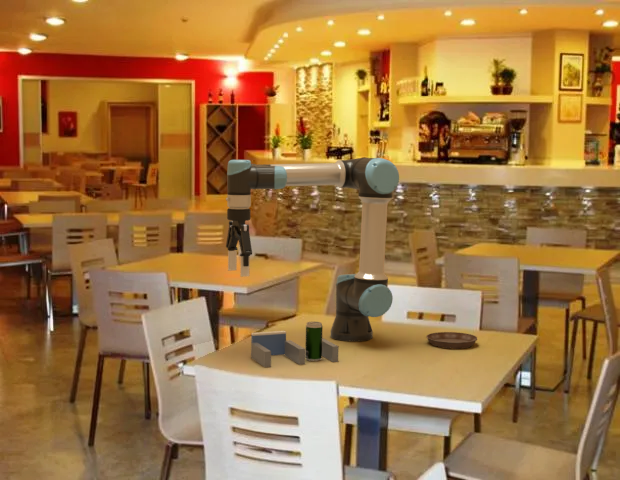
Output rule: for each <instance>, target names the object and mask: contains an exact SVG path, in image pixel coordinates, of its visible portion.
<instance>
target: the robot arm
mask: <svg viewBox="0 0 620 480" xmlns="http://www.w3.org/2000/svg"><path fill="white" fill-rule="evenodd" d="M226 176H227V179H226V180H227V182H226V183H227V197H226V198H225V200H226V201H227V203H226V204H227V205H226V206H227V207H228V208H227V210H226V213H227V214H226V218H227V220H228V231H227V235H226V236H227V237H226V243H225V248H226V249H227V256H228V257H227V271H230V272H231V271H237V269H238V267H237V266H238V265H237V264H238V263H237V262H238V260H237V259H238V257H237V255H238V254H237V252H238V247H237V246H239V249H240V254H239V257H240V277H241V278H242V277H244V278H245V277H250V257H251V255H253V251H252V250H253V249H252V243H251V241H252V240H251V235H250V224H246V221H251V218H252V215H251V214H252V213H251V209H250V207H251V206H252V190H280V189H281V190H282V189H284V188H286V187H297V186H299V187H300V186H301V187H302V186H303V187H305V186H307V187H308V186H336V187H337V188H339V189H340V188H343V189H344V188H345V189H346V188H347V189H353V190H357V191H358V195H357V197H358V198H359V200H360V201H361V203H362V204H361V205H362V206H361V207H362V208H361V226H360V242H359V243H360V245H359V246H360V247H359V248H360V249H359V265H358V266H359V268H358V272H356V273H348V274H347V273H346V274H345V273H344V274H343V273H342V274H339V275H337V278H336V284H335V286H336V289H335V290H336V294H335V299H336V300H335V316H334V320H333V323H332V326H331V329H330V338H331V339H334V340H338V341H341V342H342V341H344V342H364V341H370V340H371V339H373V333H374V332H373V329H372V324H371V322H370V317H371V318H378V317H382V316H384V315H385V314H386V313H387V312H388V311H389V310H390V309H391V307H392V304H393V299H394V298H393V293H392V291H391V289H390V288H389V287H388V286H389V276H387V275H386V273H385V260H386V259H385V255H386V238H387V237H386V236H387V222H388V221H387V218H388V204H389V202H390V201H392V200H393V195H394V194H393V193H394V191H395V190H396V188H397V187H398V185H399V184H400V183H399V182H400V174H399V170H398V168H397V166H396V165H395V163H393V162H392V161H390V160H388V159H385V158H382V157H357V158H352V159H343V160H341V159H340V160H339V159H338V160H336V161H335V162H331V163H330V162H329V163H326V162H325V163H275V164H255V163H252V161H251V160H250V159H231V160H229V161H228V162H227V172H226ZM238 244H239V245H238Z"/></svg>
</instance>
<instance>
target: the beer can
mask: <svg viewBox="0 0 620 480" xmlns="http://www.w3.org/2000/svg"><path fill="white" fill-rule="evenodd" d="M323 327H324V326H323V323H322V322H320V321H307V322H306V325H305V345H304V346H305V347H304V348H305V361H308V362H320V361H321V360H322V358H323V356H322V338H323Z"/></svg>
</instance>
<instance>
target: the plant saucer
mask: <svg viewBox="0 0 620 480" xmlns="http://www.w3.org/2000/svg"><path fill="white" fill-rule="evenodd" d="M426 339H427V341H428V342H429V343H430V344H431V345H432V346H434V347H436V346H438V347H437V348H441V347H444V348H443V349H449V348H453V349H454V350H455V349H457V350H459V349H460V348H462V349H467V348H470V347H472V346H473V345H474V344H475V343H476V342H477V340H478V336H476V335H474V334H470V333H466V332H465V333H464V332H457V331H456V332H455V331H454V332H453V331H442V332H441V331H440V332H431V333H429V334H427V335H426Z"/></svg>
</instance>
